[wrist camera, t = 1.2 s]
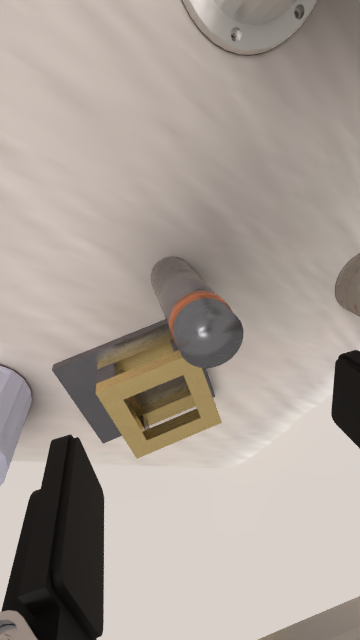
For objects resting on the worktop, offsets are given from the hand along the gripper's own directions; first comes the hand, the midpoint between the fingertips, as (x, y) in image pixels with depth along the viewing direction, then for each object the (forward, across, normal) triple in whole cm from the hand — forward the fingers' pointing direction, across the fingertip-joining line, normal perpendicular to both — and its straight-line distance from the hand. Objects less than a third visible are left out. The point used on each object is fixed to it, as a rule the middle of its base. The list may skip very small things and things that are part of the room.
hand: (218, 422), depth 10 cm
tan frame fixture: (+23, +3, +14) cm, 27 cm away
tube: (+23, -3, +2) cm, 23 cm away
